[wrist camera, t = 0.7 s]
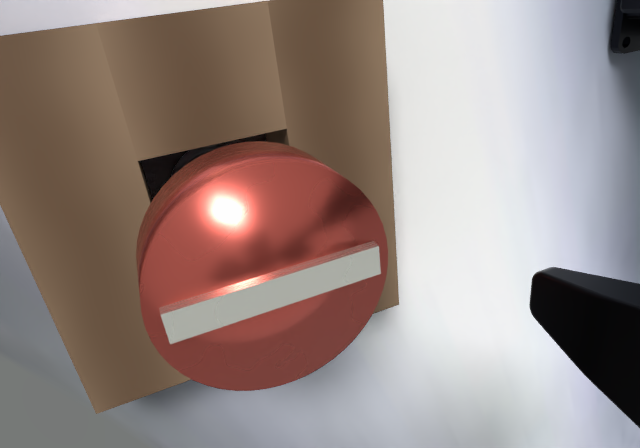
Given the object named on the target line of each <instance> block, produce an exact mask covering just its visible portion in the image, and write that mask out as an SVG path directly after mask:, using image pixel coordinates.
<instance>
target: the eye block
mask: <svg viewBox="0 0 640 448" xmlns="http://www.w3.org/2000/svg"><path fill="white" fill-rule="evenodd" d="M264 133H265V136H266V142H274V143H280V144H284V145H288V146H292V147H295V148H297V149H299V150H302V151H304V152H306V153H308V154H310V155H311V156H313V157H315V158H316V159H318V160H319V161H321V162H322V163H324V164H325V165H327V166H328V167H330V168H331V169H333V170H334V171H336V172H337V173H339V174H340V175H342V176H343V177H344V178H346V179H347V180H349V181H350V182H351V183H353V184H354V185H355V186H356V187H357V188H359V189H360V190H361V191H362V192H363V193H364V194H365V196H366V197H367V198H368V199H369V200H370V201H371V203H372V205H373V206H374V208H375V209H376V211H377V213H378V215H379V217H380V219H381V221H382V224H383V227H384V231H385V234H386V239H387V246H388V267H387V275H386V280H385V284H384V288H383V291H382V294H381V296H380V299H379V302H378V304H377V306H376V308H375V310H374V312H373V314H374V313H377V312H379V311H382V310H385V309H388V308H390V307H393V306H396V305H399V295H398V276H397V257H396V238H395V219H394V200H393V181H392V162H391V143H390V124H389V105H388V86H387V67H386V48H385V29H384V10H383V0H270V1H262V2H255V3H247V4H240V5H232V6H224V7H217V8H209V9H202V10H194V11H186V12H179V13H171V14H164V15H156V16H148V17H141V18H133V19H126V20H118V21H110V22H103V23H95V24H88V25H80V26H72V27H65V28H57V29H50V30H42V31H34V32H27V33H19V34H12V35H4V36H0V205H1V207H2V210H3V212H4V214H5V216H6V218H7V220H8V223H9V225H10V227H11V229H12V231H13V234H14V236H15V238H16V240H17V242H18V244H19V247H20V249H21V251H22V253H23V255H24V258H25V260H26V262H27V264H28V266H29V268H30V271H31V273H32V275H33V277H34V279H35V281H36V284H37V286H38V288H39V290H40V292H41V295H42V297H43V299H44V301H45V303H46V305H47V308H48V310H49V312H50V314H51V316H52V318H53V321H54V323H55V325H56V327H57V329H58V332H59V334H60V336H61V338H62V340H63V342H64V345H65V347H66V349H67V351H68V353H69V356H70V358H71V360H72V362H73V364H74V366H75V369H76V371H77V373H78V375H79V377H80V379H81V382H82V384H83V386H84V388H85V390H86V393H87V395H88V397H89V399H90V401H91V403H92V406H93V408H94V410H95V412H96V414H97V413H100V412H103V411H106V410H108V409H111V408H114V407H117V406H119V405H122V404H125V403H128V402H131V401H133V400H136V399H139V398H142V397H144V396H147V395H150V394H153V393H155V392H158V391H161V390H164V389H166V388H169V387H172V386H175V385H178V384H180V383H183V382H186V381H189V380H191V379H190V378H188V377H187V376H185V375H183V374H181V373H180V372H179V371H177V370H176V369H175V368H173V367H172V366H171V365H170V364H169V363H168V362H167V361H166V360H165V359H164V358H163V357H162V356H161V355H160V354H159V352H158V351H157V349H156V348H155V346H154V345H153V343H152V342H151V340H150V337H149V335H148V333H147V331H146V329H145V325H144V321H143V318H142V314H141V304H140V294H139V283H138V273H137V262H136V248H137V239H138V234H139V230H140V226H141V223H142V221H143V218H144V216H145V213H146V211H147V209H148V207H149V206H150V204H151V202H152V198H151V194H150V191H149V188H148V184H147V181H146V178H145V174H144V171H143V168H142V164H141V160H145V159H150V158H154V157H159V156H164V155H168V154H173V153H177V152H182V151H186V150H191V149H196V148H200V147H205V146H209V145H214V144H219V143H223V142H228V141H232V140H237V139H242V138H246V137H251V136H255V135H260V134H264Z"/></svg>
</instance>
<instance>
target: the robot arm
mask: <svg viewBox="0 0 640 448" xmlns="http://www.w3.org/2000/svg"><path fill="white" fill-rule="evenodd" d="M611 49H612V51H613V52H614V53H628V52H633V51H638V50H640V0H617V6H616V13H615V19H614V26H613V33H612V40H611ZM530 310H531V313H532V315H533V317H534V318H535V319H536V320H537V321H538V323H539V324H540V325H541V326H542V327H543V328H544V329H545V331H546V332H547V333H548V334H549V335H550V336H551V337H552V339H553V340H554V341H555V342H556V343H557V344H558V345H559V347H560V348H561V349H562V350H563V351H564V352H565V353H566V355H567V356H568V357H569V358H570V359H571V360H572V361H573V363H574V364H575V365H576V366H577V367H578V368H579V369H580V370H581V371H582V373H583V374H584V375H585V376H586V377H587V378H588V379H589V380H590V381H591V382H592V383H593V384H594V385H595V386H596V387H597V388H598V389H599V390H600V391H602V392H603V393H604V394H605V395H606V396H607V397H608V398H609V399H610V400H611V401H612V402H613V403H614V404H615V405H616V406H617V407H618V408H619V409H620V410H621V411H622V412H623V413H624V414H626V415H627V416H628V417H629V418H630V419H631V420H632V421H633V422H634V423H635V424H636V425H637V426H638V427H639V428H640V284H637V283H632V282H627V281H622V280H617V279H612V278H607V277H602V276H597V275H592V274H587V273H582V272H577V271H572V270H567V269H562V268H557V267H550V268H547V269H544V270H542V271H539V272H537V273H535V274H534V276H533V278H532V285H531V295H530Z"/></svg>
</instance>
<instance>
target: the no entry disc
mask: <svg viewBox="0 0 640 448" xmlns="http://www.w3.org/2000/svg"><path fill="white" fill-rule="evenodd" d="M136 262H137V273H138V283H139V294H140V304H141V314H142V318H143V321H144V325H145V329H146V331H147V333H148V335H149V337H150V340H151V342H152V343H153V345H154V346H155V348H156V349H157V351H158V352H159V354H160V355H161V356H162V357H163V358H164V359H165V360H166V361H167V362H168V363H169V364H170V365H171V366H172V367H173V368H175V369H176V370H177V371H179V372H180V373H181V374H183V375H185V376H187V377H188V378H190V379H192V380H194V381H196V382H199V383H202V384H204V385H207V386H211V387H215V388H219V389H226V390H235V391H251V390H260V389H267V388H271V387H276V386H280V385H283V384H286V383H289V382H292V381H295V380H297V379H300V378H302V377H304V376H306V375H308V374H310V373H312V372H314V371H316V370H317V369H319V368H321V367H322V366H324V365H325V364H327V363H328V362H330V361H331V360H332V359H334V358H335V357H336V356H337V355H338V354H340V353H341V352H342V351H343V350H344V349H345V348H346V347H347V346H348V345H349V344H350V343H351V342H352V341H353V340H354V339H355V338H356V337H357V335H358V334H359V333H360V332H361V330H362V329H363V328H364V326H365V325H366V323H367V322H368V320H369V319H370V317H371V316H372V314H373V312H374V310H375V308H376V306H377V304H378V302H379V299H380V296H381V294H382V291H383V288H384V284H385V280H386V275H387V267H388V246H387V239H386V234H385V231H384V227H383V224H382V221H381V219H380V217H379V215H378V213H377V211H376V209H375V208H374V206H373V205H372V203H371V201H370V200H369V199H368V198H367V197H366V196H365V194H364V193H363V192H362V191H361V190H360V189H359V188H357V187H356V186H355V185H354V184H353V183H351V182H350V181H349V180H347V179H346V178H344V177H343V176H342V175H340V174H339V173H337V172H336V171H334V170H333V169H331V168H330V167H328V166H327V165H325V164H324V163H322V162H321V161H319V160H318V159H316V158H315V157H313V156H311V155H310V154H308V153H306V152H304V151H302V150H299V149H297V148H295V147H292V146H288V145H284V144H280V143H274V142H265V141H255V142H243V143H236V144H231V145H225V144H214V145H209V146H205V147H200V148H196V149H191V150H189V151H188V152H187V153H185V154H184V155H183V156H182V157H181V158H180V159H179V161H178V162H177V163H176V165H175V167H174V169H173V172H172V175H171V178H170V179H169V180H168V181H167V182H166V183H165V184H164V185H163V186H162V188H161V189H160V190H159V192H158V193H157V194H156V196H155V197H154V198H153V200H152V202H151V204H150V206H149V207H148V209H147V211H146V213H145V216H144V218H143V221H142V223H141V226H140V230H139V234H138V239H137V248H136Z"/></svg>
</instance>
